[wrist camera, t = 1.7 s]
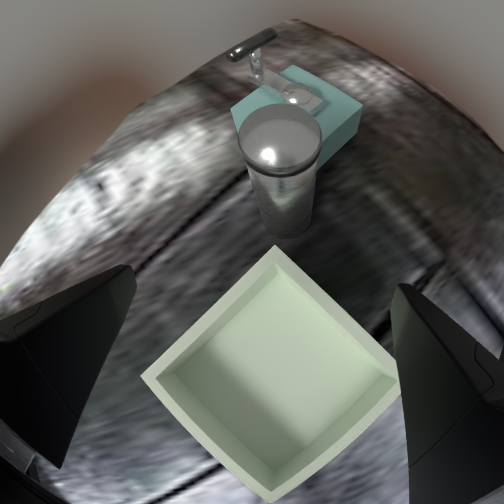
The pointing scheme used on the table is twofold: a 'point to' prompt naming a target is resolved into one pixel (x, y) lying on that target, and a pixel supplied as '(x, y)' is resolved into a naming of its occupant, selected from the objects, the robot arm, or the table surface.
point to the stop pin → (282, 165)
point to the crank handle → (273, 74)
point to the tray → (275, 378)
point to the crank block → (329, 117)
